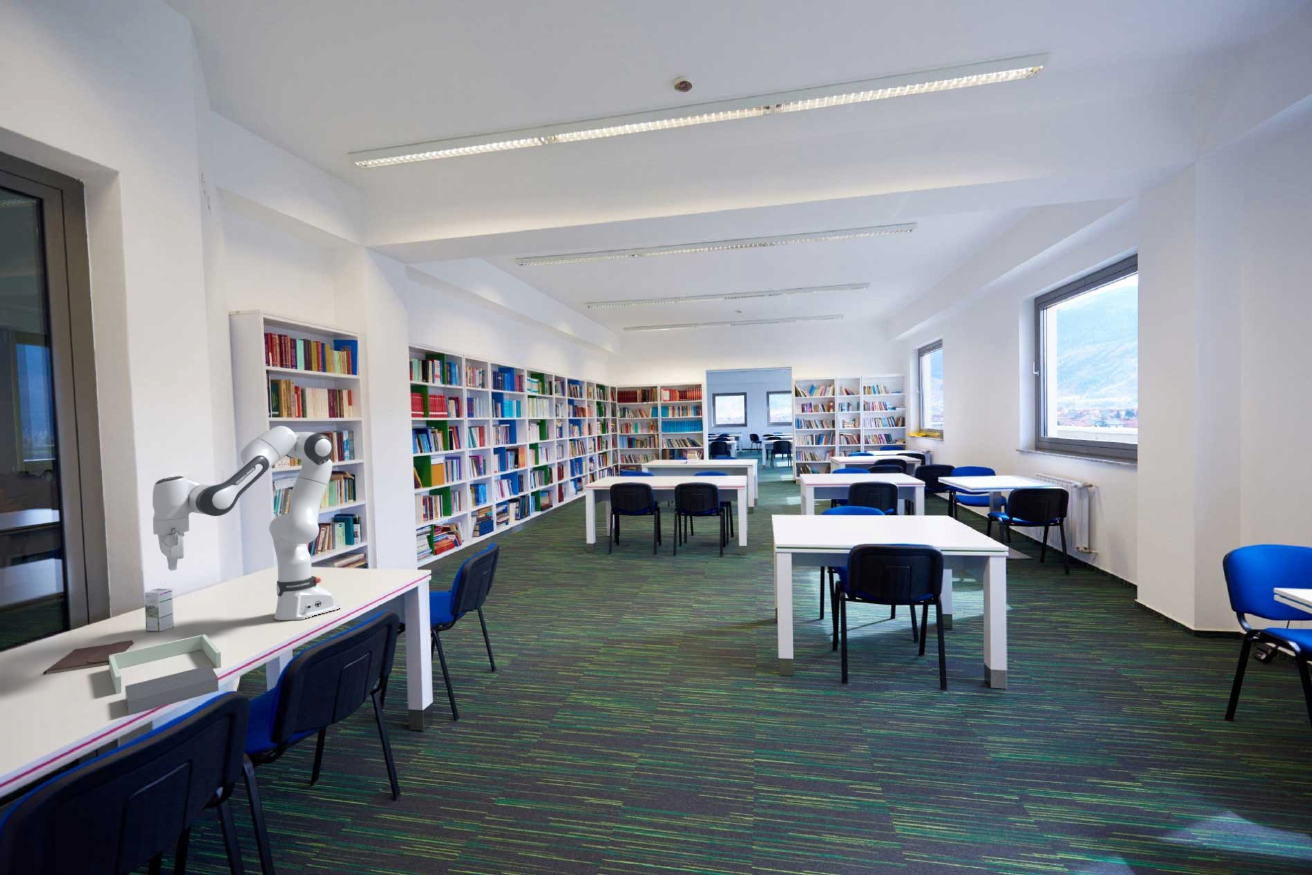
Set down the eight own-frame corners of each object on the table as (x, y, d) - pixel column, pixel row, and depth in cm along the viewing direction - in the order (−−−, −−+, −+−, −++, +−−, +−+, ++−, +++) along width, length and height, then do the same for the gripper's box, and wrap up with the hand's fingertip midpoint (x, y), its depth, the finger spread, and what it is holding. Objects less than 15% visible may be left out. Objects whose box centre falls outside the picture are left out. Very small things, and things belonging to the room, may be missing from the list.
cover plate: (210, 678, 164) (210, 664, 164) (218, 692, 155) (218, 677, 155) (125, 700, 151) (125, 685, 151) (129, 716, 142) (128, 701, 142)
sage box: (205, 647, 187) (205, 634, 187) (220, 666, 171) (220, 651, 171) (109, 670, 171) (108, 655, 170) (116, 693, 154) (115, 677, 154)
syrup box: (174, 626, 210) (173, 587, 210) (159, 632, 204) (158, 592, 204) (160, 626, 210) (159, 587, 210) (144, 631, 204) (143, 591, 204)
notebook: (43, 676, 168) (43, 669, 168) (74, 653, 186) (74, 647, 186) (110, 666, 175) (110, 659, 175) (133, 645, 193) (133, 639, 193)
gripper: (189, 528, 178) (190, 572, 178) (179, 522, 192) (180, 563, 192) (163, 531, 174) (164, 576, 174) (154, 525, 187) (155, 566, 188)
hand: (172, 569), depth 183 cm, fingers closed
